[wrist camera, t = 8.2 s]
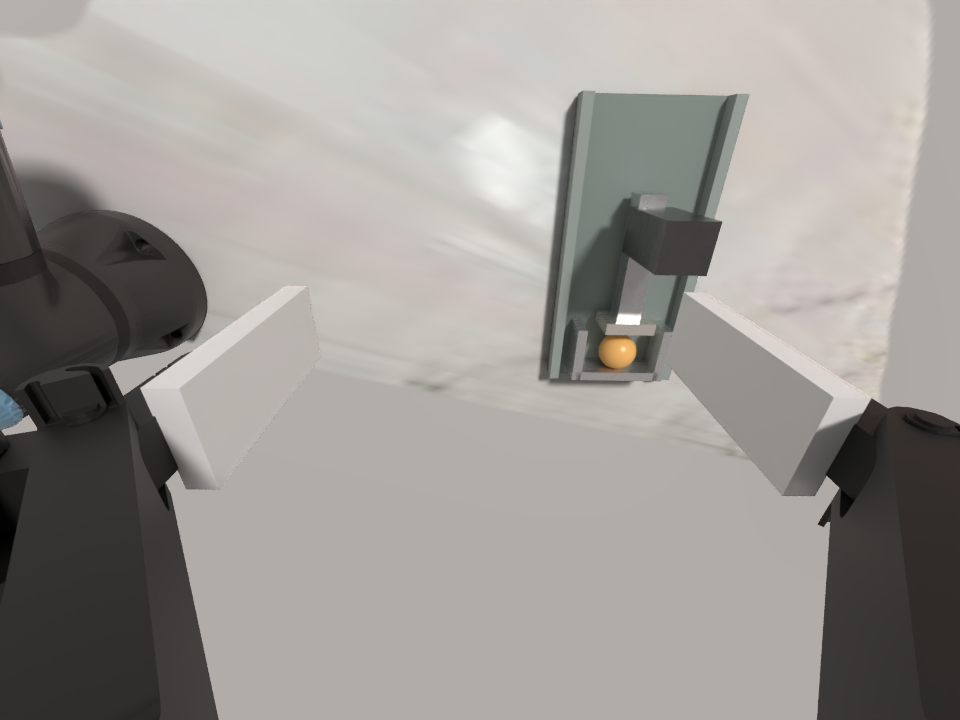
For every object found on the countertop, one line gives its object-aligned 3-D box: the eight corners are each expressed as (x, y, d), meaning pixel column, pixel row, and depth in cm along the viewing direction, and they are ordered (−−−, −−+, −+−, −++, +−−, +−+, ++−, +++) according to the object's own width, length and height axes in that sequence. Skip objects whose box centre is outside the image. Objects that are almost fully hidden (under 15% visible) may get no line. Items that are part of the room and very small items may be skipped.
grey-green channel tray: (547, 369, 48) (549, 378, 46) (578, 93, 35) (583, 90, 33) (661, 371, 48) (668, 379, 46) (735, 96, 35) (749, 94, 33)
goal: (564, 362, 48) (571, 379, 44) (570, 316, 45) (578, 330, 41) (647, 364, 48) (660, 381, 44) (658, 317, 45) (674, 332, 41)
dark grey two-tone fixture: (595, 319, 44) (627, 367, 34) (616, 191, 38) (663, 205, 28) (640, 320, 44) (685, 368, 34) (668, 192, 38) (733, 207, 28)
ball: (607, 341, 41) (597, 327, 45) (601, 374, 43) (592, 358, 47) (645, 341, 41) (632, 327, 45) (638, 375, 43) (625, 359, 47)
